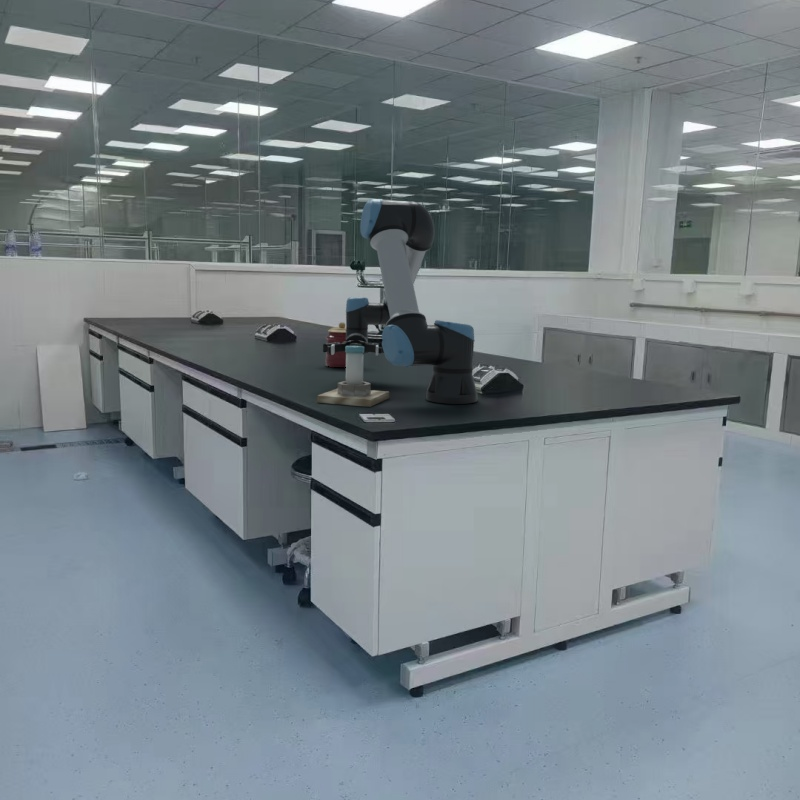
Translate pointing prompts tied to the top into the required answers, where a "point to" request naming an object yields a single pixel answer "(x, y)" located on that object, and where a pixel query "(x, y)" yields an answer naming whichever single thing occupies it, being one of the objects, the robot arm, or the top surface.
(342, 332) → the canister
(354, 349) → the canister
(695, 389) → the top surface
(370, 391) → the collar base
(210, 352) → the top surface
